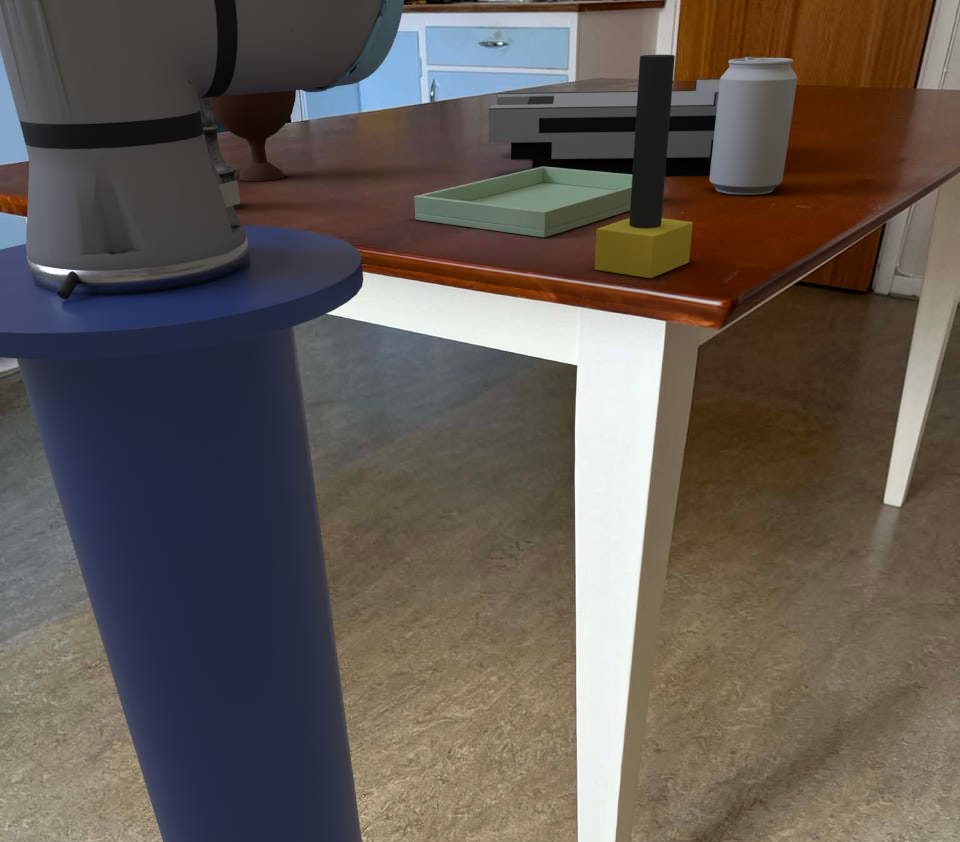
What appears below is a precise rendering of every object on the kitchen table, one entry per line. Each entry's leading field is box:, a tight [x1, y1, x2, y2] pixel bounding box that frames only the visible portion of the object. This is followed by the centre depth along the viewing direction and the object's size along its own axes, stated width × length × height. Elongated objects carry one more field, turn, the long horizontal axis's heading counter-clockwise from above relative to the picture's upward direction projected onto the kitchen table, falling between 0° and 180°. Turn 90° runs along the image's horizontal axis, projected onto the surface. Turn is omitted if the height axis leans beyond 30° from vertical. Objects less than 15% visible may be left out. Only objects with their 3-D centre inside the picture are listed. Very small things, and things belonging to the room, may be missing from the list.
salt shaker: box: [199, 97, 241, 210], centre depth 95 cm, size 6×6×12 cm
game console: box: [487, 78, 720, 176], centre depth 115 cm, size 21×32×8 cm, turn 86°
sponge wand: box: [594, 54, 694, 279], centre depth 69 cm, size 6×5×14 cm
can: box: [708, 56, 798, 196], centre depth 96 cm, size 8×8×12 cm
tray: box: [413, 167, 666, 239], centre depth 93 cm, size 21×15×2 cm
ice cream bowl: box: [211, 90, 297, 182], centre depth 110 cm, size 11×11×15 cm
